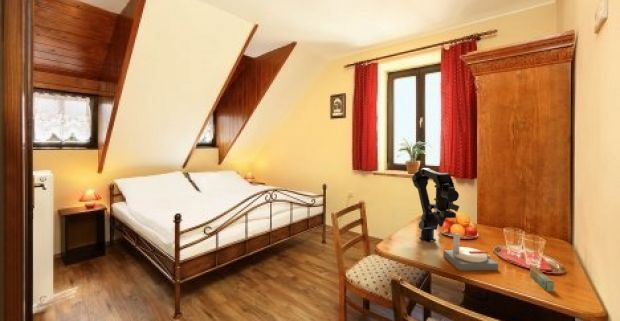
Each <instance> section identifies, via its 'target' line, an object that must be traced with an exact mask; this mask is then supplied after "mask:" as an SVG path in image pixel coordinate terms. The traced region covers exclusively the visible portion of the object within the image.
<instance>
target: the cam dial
mask: <svg viewBox="0 0 620 321" xmlns="http://www.w3.org/2000/svg"><path fill="white" fill-rule="evenodd" d="M452 241H453V242H452V244H453V245H452V250H453V255H454V256H455V257H456V258H458V259H461V260H464V261H468V262H474V263H482V262H485V261H487V255H488V254H487V253H489V252H488V250H479V249H478V248H477V249H476V248H472V247H469V246H468V247H465V246H460V245H461V244H460V242H461V233H458V232H454V233H453V240H452ZM485 253H486V254H485Z"/></svg>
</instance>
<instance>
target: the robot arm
mask: <svg viewBox="0 0 620 321" xmlns="http://www.w3.org/2000/svg"><path fill="white" fill-rule="evenodd" d="M430 179H431V180H432V182H433V183H434V184H435V185H433V186H434V188H435V197H434V198H433V200H434V201H435V203H430V197H429V193H428V189H427V186H428V184H429V180H430ZM411 180H412V184H413V186H414V187H415V188H416V189H417V191H418V192H417V193H418V196H419V201H420V206H421V210H422V211H421V212H422V214H421V217H420V221H419V223H418V228H419V229H420V230H421V231H420V237H419V239H420V240H423V241H425V242H428V243H429V242H433V241H436V240H437V239H436V238H434V237H435V236H434V235H435V231H437V230H438V227H440V228H442V227H443V225H444V224H445V220H446V219H456V218H457V212H458V211H459V208H460V205H458V204H455V203H454V202H456V201H457V200H458V199H459V197H460V194H459V192H458V191H457V190H456V187H455V183H454V181H453V179H452V176H451V175H450V173H447V172H438V171H435V170H434V169H431V168H429V167H422V168H420V169H419V170H418V171H416V172H414V174H413V175H412V177H411ZM433 210H434V211H433Z"/></svg>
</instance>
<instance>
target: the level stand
mask: <svg viewBox="0 0 620 321" xmlns="http://www.w3.org/2000/svg"><path fill="white" fill-rule="evenodd" d="M485 254H487V253H485ZM443 257H444V258H445V259H446V260H447V261H448V262H449V263H450V264H452V265H453V266H454V267H455V268H456V269H457V270H459V271H498V270H499V263H498V262H497V261H495V260H493V259H492V258H491V255H490V254H487V261H485V262H482V263H474V262H468V261H464V260H461V259H458V258H456V257H455V256H454V255H453V249H444V250H443Z"/></svg>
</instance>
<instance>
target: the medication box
mask: <svg viewBox="0 0 620 321" xmlns="http://www.w3.org/2000/svg"><path fill="white" fill-rule="evenodd" d="M529 277H530V278H531V279H532V280H533V281H534V282H535V283H537V285H538V286H540V287H541V289H543V290H544V291H545V292H552V293H553V292H554V290H555V281H553V280H552V279H551V278H549V276H547V275H546V274H544V273H543V272H542V271H541V270H540V269H538V268H534V267H530V269H529Z"/></svg>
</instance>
